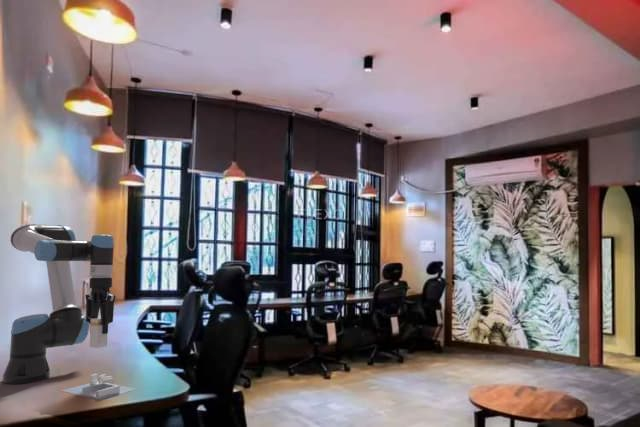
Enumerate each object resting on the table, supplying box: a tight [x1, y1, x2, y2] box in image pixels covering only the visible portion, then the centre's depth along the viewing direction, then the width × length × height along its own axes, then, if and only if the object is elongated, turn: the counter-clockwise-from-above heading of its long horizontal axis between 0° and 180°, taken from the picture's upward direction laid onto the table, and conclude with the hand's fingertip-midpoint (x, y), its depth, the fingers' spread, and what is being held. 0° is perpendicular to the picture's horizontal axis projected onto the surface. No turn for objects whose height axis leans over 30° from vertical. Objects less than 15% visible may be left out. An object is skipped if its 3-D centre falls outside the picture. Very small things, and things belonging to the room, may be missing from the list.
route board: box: [60, 380, 137, 401], centre depth 159 cm, size 20×14×1 cm
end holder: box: [81, 382, 121, 400], centre depth 154 cm, size 8×8×2 cm
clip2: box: [101, 375, 114, 384], centre depth 161 cm, size 4×3×3 cm
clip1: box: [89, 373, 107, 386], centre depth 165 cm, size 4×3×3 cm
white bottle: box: [89, 316, 108, 349], centre depth 169 cm, size 4×4×10 cm
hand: (98, 342), depth 169 cm, fingers closed on white bottle, 4 cm apart
